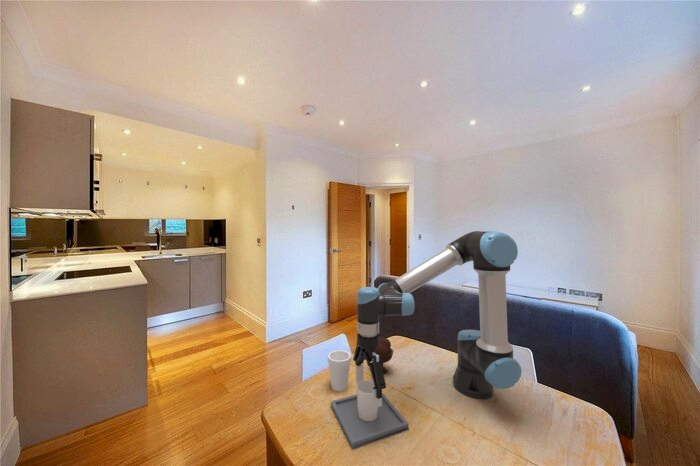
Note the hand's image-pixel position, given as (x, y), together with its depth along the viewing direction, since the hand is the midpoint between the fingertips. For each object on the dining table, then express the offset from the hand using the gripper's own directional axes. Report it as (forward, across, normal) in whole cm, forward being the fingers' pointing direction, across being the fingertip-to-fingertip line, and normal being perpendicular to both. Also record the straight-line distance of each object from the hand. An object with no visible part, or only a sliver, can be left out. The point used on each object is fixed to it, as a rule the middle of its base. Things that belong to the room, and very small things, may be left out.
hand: (368, 394), depth 90 cm
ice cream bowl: (+8, -24, +19) cm, 32 cm away
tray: (+8, 0, 0) cm, 8 cm away
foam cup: (+8, -20, -3) cm, 22 cm away
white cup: (+7, 0, 0) cm, 7 cm away
